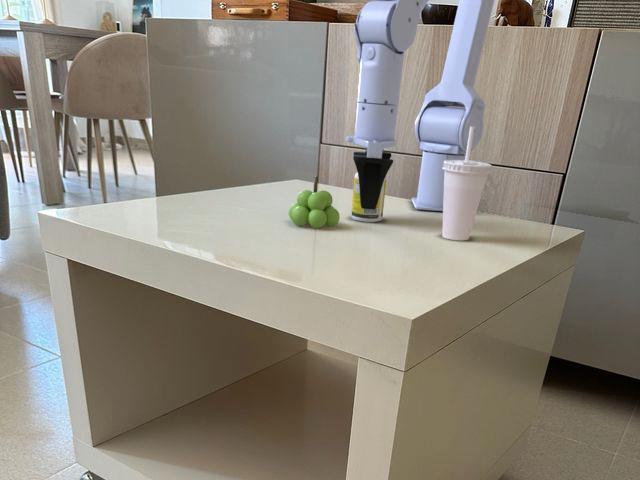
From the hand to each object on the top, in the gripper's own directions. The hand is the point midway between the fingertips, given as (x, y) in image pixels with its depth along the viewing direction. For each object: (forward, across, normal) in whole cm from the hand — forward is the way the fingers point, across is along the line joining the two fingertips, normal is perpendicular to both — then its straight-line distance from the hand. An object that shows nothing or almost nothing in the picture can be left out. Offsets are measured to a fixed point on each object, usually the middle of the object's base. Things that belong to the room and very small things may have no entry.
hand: (368, 205), depth 94 cm
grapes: (+2, +7, -8) cm, 11 cm away
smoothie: (+2, +8, +12) cm, 15 cm away
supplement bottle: (+2, 0, 0) cm, 2 cm away
